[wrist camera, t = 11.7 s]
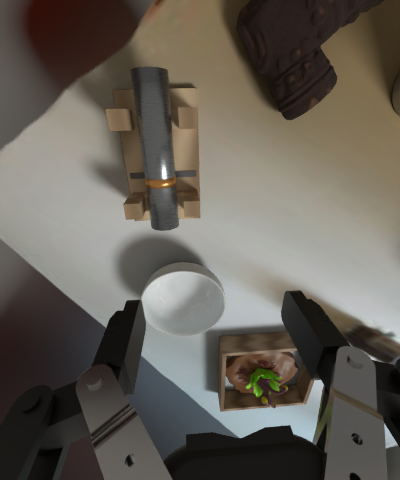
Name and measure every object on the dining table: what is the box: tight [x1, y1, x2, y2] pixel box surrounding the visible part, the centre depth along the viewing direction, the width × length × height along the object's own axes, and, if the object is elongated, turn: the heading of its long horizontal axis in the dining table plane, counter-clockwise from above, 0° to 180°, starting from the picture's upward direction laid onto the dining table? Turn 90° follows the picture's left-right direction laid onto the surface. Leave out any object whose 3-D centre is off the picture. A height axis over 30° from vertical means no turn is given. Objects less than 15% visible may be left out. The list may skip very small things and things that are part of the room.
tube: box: [131, 67, 179, 231], centre depth 31 cm, size 20×4×4 cm, turn 1°
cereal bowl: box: [140, 262, 226, 336], centre depth 46 cm, size 17×17×7 cm
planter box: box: [218, 331, 314, 412], centre depth 61 cm, size 26×26×5 cm
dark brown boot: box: [237, 0, 384, 120], centre depth 28 cm, size 10×15×15 cm
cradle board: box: [105, 88, 200, 221], centre depth 34 cm, size 12×20×8 cm, turn 1°
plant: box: [226, 352, 299, 408], centre depth 60 cm, size 20×20×11 cm
